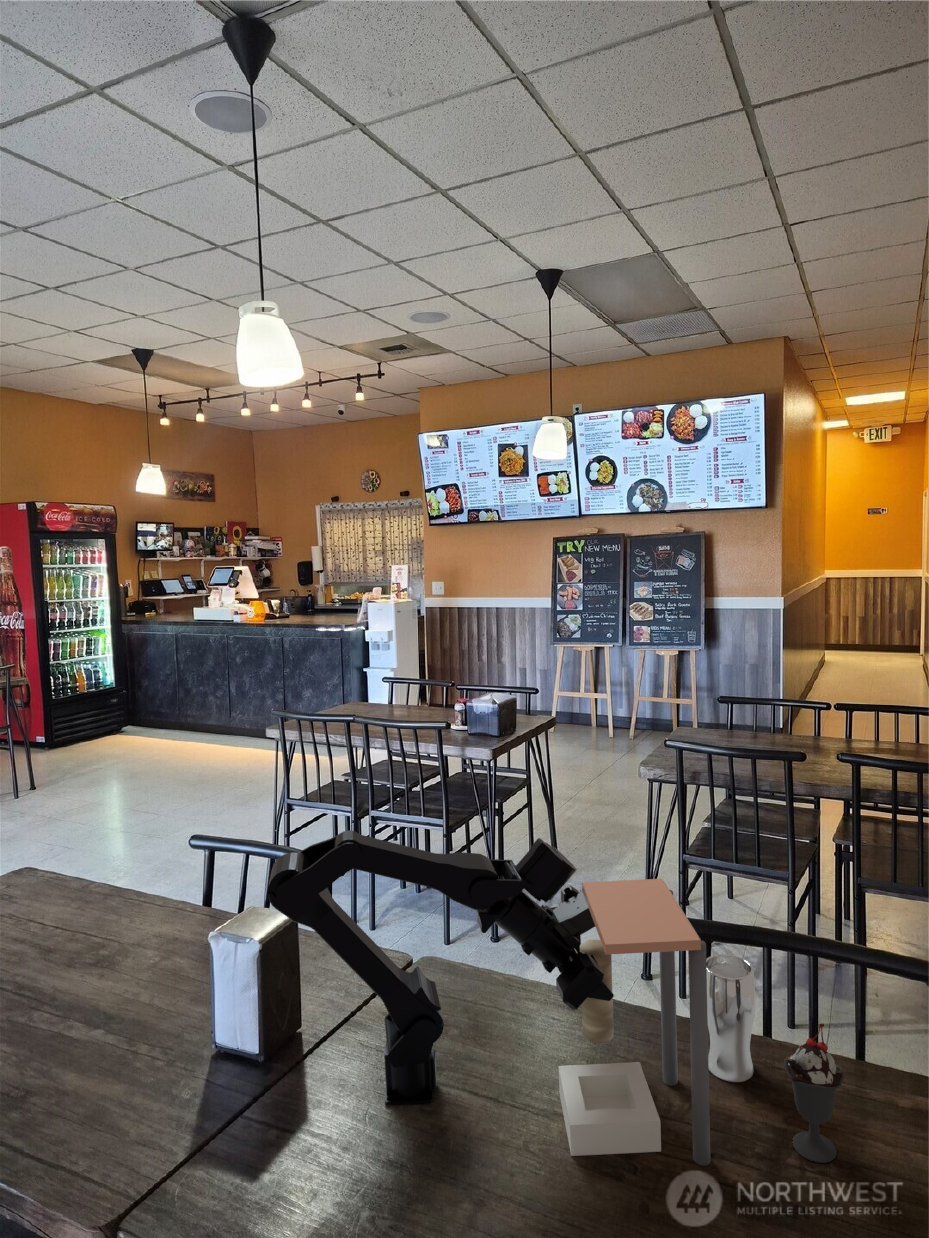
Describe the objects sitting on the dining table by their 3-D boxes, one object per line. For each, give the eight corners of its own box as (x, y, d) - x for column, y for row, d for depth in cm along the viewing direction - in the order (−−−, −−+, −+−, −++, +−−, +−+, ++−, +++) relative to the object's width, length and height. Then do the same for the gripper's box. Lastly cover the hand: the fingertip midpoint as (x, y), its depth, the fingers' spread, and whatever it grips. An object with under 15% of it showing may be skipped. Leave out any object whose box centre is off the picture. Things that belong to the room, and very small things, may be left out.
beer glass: (760, 1087, 106) (759, 981, 105) (707, 1082, 107) (704, 977, 106) (752, 1054, 113) (750, 954, 111) (702, 1050, 114) (700, 951, 113)
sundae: (840, 1132, 97) (839, 1017, 96) (847, 1173, 91) (847, 1051, 90) (783, 1122, 99) (781, 1009, 98) (786, 1161, 93) (785, 1042, 92)
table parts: (574, 1175, 92) (566, 946, 90) (556, 1078, 109) (549, 883, 107) (714, 1168, 93) (709, 939, 90) (674, 1072, 109) (669, 878, 107)
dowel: (585, 1044, 110) (582, 955, 109) (580, 1025, 115) (577, 940, 114) (616, 1042, 110) (613, 954, 109) (610, 1023, 115) (607, 938, 114)
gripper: (586, 909, 101) (669, 980, 103) (549, 854, 119) (620, 916, 122) (528, 974, 100) (613, 1045, 103) (500, 910, 119) (573, 971, 121)
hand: (606, 988), depth 112 cm, fingers closed on dowel, 4 cm apart
